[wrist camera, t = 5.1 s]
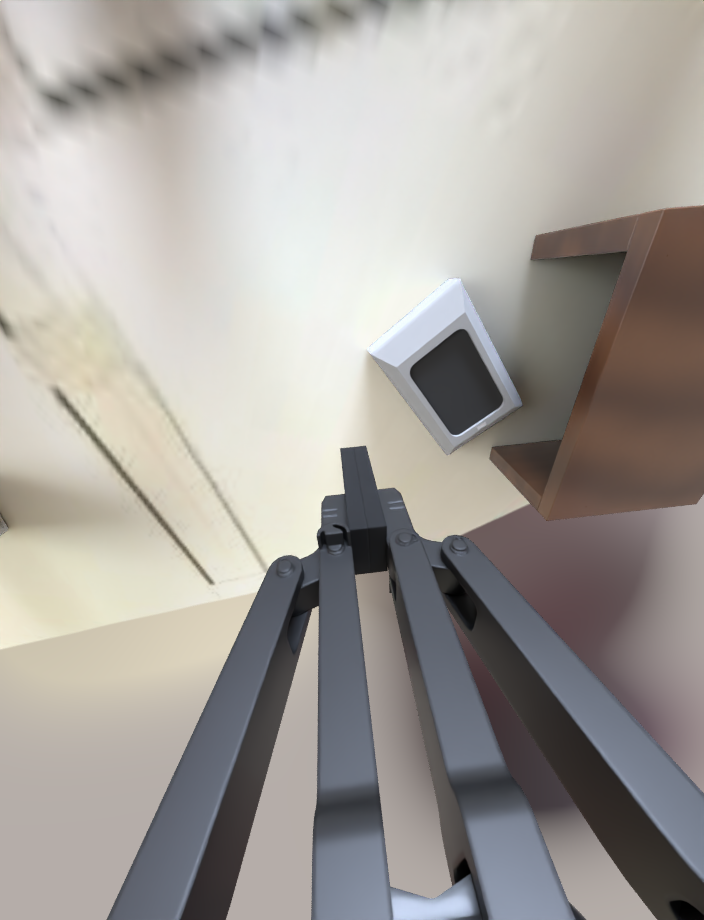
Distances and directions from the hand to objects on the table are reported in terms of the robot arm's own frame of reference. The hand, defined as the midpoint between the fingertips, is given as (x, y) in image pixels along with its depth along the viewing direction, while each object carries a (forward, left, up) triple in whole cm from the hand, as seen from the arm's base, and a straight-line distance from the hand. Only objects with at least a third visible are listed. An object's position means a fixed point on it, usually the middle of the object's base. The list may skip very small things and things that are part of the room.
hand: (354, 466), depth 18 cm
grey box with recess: (0, +11, -16) cm, 20 cm away
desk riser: (0, +26, -16) cm, 30 cm away
